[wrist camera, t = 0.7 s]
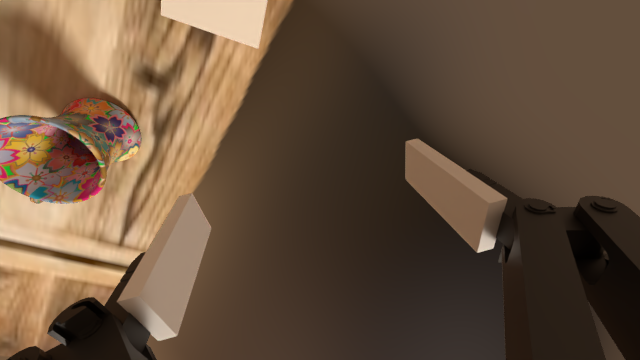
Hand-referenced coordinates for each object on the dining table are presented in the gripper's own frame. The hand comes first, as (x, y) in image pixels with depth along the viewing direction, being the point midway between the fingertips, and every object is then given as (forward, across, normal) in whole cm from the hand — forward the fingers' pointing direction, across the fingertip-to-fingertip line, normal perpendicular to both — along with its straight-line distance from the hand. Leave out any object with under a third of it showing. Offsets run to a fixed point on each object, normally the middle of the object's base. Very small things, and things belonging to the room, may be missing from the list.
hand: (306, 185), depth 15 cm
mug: (+23, -25, +1) cm, 34 cm away
